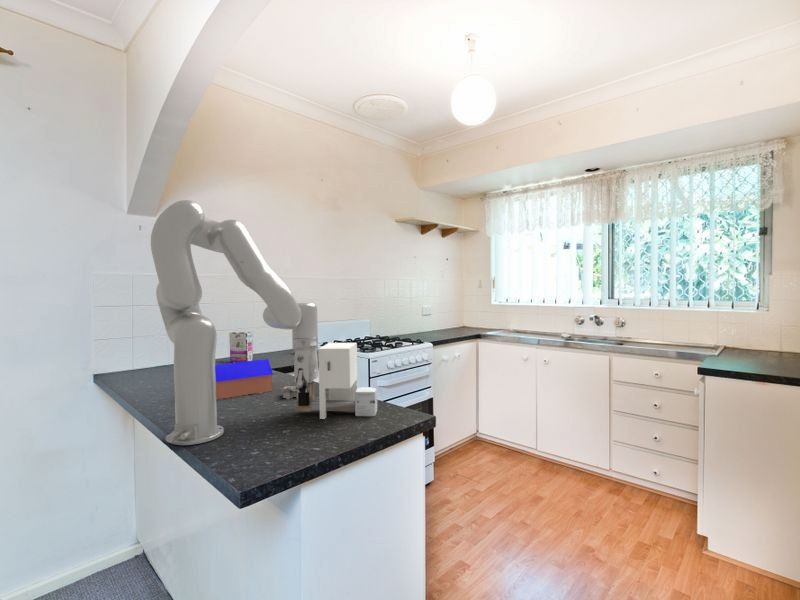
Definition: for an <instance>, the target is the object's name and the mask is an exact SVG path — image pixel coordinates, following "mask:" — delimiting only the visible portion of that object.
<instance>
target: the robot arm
mask: <svg viewBox="0 0 800 600" xmlns="http://www.w3.org/2000/svg"><path fill="white" fill-rule="evenodd" d="M191 245H194V246H196V247H199V248H202V249H205V250H208V251H212V252H216V253H219V254H223V255H224V257H225V259H226V260H227V262H228V263H229V265H230V266H231V268H232V269H233V271H234V272H235V274H236V275H237V278H238V279H239V281H240V282H241V283H243V284H244V286H246V287H248V288H249V289H251V290H252V291H253V292H255V293H256V294H257V295H258V296H259V297H260V298H261V299H262V301H264V303H265V304H266V306H265V308H264V310H263V312H262V319H263V321H264V323H265V324H266V325H267V326H269V327H271V328H274V329H280V330H291V333H292V335H291V339H292V341H291V343H292V345H291V346H292V350H294V361H293V366H294V368H293V370H294V372H293V373H294V374H293V375H294V382H295V383H296V386H297V387H298V405H299V406H309V392H308V382H309V383H311V382H315V380H316V379H317V378H319V357H318V350H317V349H319V344H318V343H319V342H318V341H319V337H318V334H319V333H318V328H319V327H318V306H317V305H316V303H314V302H298V301H296V299H295V296H294V295H293V294H292V292H291V290H290V289H289V288H288V286H287V285H286V284H285V282H284V281H283V280H282V279H281V278H280V277H279V276H278V274H276V272H275V271H274V270H272V268H271V267H270V266H269V264H268V263H267V262H266V260H265V258H264V255H262V253H261V251H260V250H259V247H258V246H257V244H256V242H255V241H254V239H253V238H252V236H251V234H250V233H249V231H248V229H247V228H246V226H245V225H244V224H243V223H242V222H240V221H238V220H237V219H226V220H223V221H220V222H218V221H217V220H216V221H215V220H213V219H209V218H208V217H206V215H205V212H204V210H203V208H202V207H201V205H199V204H198V203H196V201H194V200H193V201H192V200H189V199H188V200H187V199H182V200H177V201H175V202H173V203H172V204H170V205H169V206H168V207H166V208H165V209H164V210H162V212H161V213H160V214H159V215H158V217H157V218H156V220H155V222H154V224H153V227H152V229H151V234H150V249H151V250H150V251H151V255H152V258H153V259H152V261H153V263H154V268H155V271H156V275H157V279H158V284H157V286H156V292H155V296H156V301H157V305H158V307H159V311H160V314H161V317H162V321H163V324H164V327H165V331H166V334H167V337H168V338H169V340H170V341H171V342H172V343H173V348H174V349H173V350H174V351H173V379H174V380H173V381H174V383H173V384H174V414H175V415H174V417H175V418H174V420H175V424H174V427H173V428H174V430H173V431H172V432H170V433H169V434H167V435H166V436H165V441H166V442H167V443H170V444H172V445H175V446H176V445H177V446H193V445H198V444H199V445H200V444H204V443H208V442H210V441H214V440H216V439H219V438H221V436H222V435H223V434H224V432H225V431H224V427H223V425H220V424H218V419H217V418H218V415H217V414H218V413H217V411H218V410H217V400H216V374H215V365H216V353H217V351H216V350H217V342H218V341H217V339H218V337H217V336H218V334H217V330H216V327H215V324H214V323H213V322H212V320H211V319H210V318H208V317H206V316H205V315H203V313H202V309H201V306H200V302H201V300H202V296H203V289H202V286H201V283H200V280H199V277H198V273H197V270H196V267H195V264H194V259H193V255H192V250H191V249H192V248H191V247H192V246H191ZM303 381H306V382H303ZM303 384H306V386H305V385H303Z"/></svg>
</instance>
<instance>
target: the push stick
mask: <svg viewBox="0 0 800 600" xmlns="http://www.w3.org/2000/svg"><path fill="white" fill-rule="evenodd" d="M303 382H306V381H304V380H303ZM303 385H305V386H306V384H303ZM308 392H309V406H299V405H298V387H297V398H296V400H297V403H296V404H297V405H296V406H297V412H312V411H313V412H314V411H315V412H317V411H318V412H320V401H319V399H315V381H313V382H311V383H309V382H308ZM326 412H355V401H349V400H329V399H326Z"/></svg>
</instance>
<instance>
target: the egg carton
mask: <svg viewBox="0 0 800 600" xmlns="http://www.w3.org/2000/svg"><path fill="white" fill-rule="evenodd" d="M281 389H282V390H281V394H282V398H291V397H297V385H293V386H291V385H287V386H284V387H283V388H281ZM291 399H292V398H291Z"/></svg>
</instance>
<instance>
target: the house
mask: <svg viewBox="0 0 800 600" xmlns="http://www.w3.org/2000/svg"><path fill="white" fill-rule="evenodd" d="M215 374H216V401H218V400H217V399H220V400H224V399H223V398H227V399H230V398H229V397H233V398H236V397H235V396H240V397H243V396H242V395H246V396H249V395H248V394H253V393H259V394H261V393H260V392H265V393H267V392H266V391H272V392H273V371H272V366H271V364H270V361H269V359H268V358H265V359H257V360H256V359H255V360H254V359H253V361H245V362H235V363H230V362H228V363H218V364H215ZM253 395H254V394H253Z"/></svg>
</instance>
